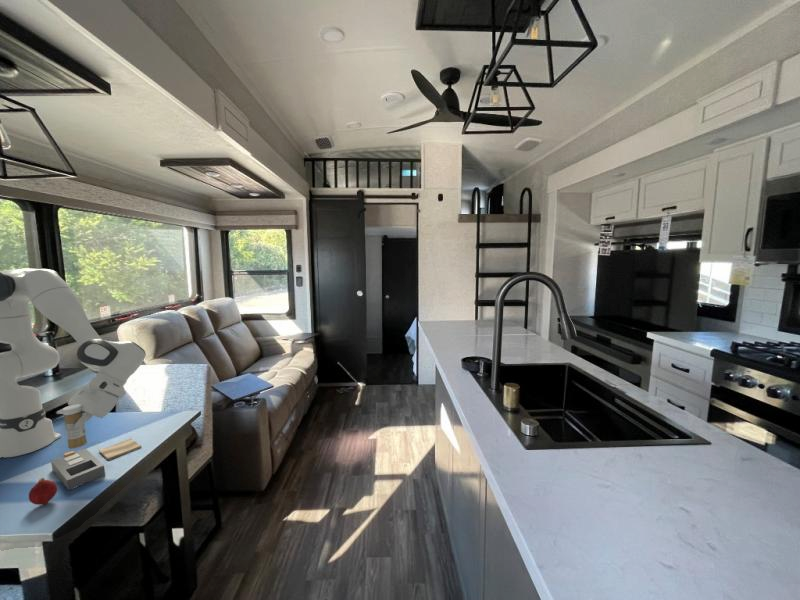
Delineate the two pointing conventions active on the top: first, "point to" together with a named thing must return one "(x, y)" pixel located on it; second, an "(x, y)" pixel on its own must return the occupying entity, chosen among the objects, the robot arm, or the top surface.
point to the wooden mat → (119, 449)
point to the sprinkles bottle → (74, 433)
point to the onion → (42, 492)
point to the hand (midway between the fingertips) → (72, 424)
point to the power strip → (77, 468)
